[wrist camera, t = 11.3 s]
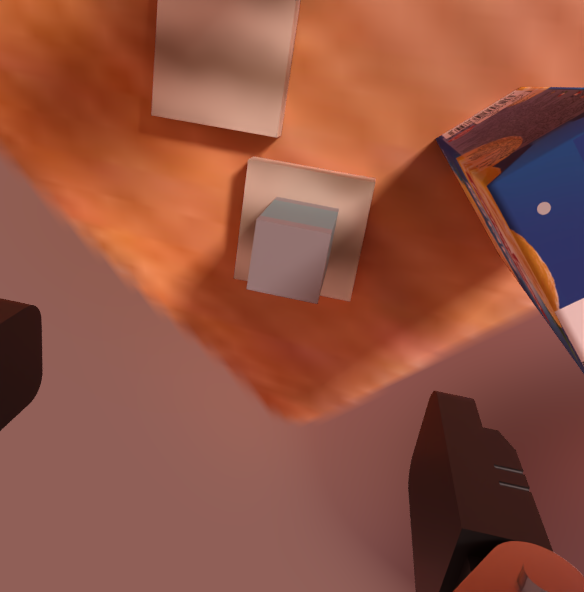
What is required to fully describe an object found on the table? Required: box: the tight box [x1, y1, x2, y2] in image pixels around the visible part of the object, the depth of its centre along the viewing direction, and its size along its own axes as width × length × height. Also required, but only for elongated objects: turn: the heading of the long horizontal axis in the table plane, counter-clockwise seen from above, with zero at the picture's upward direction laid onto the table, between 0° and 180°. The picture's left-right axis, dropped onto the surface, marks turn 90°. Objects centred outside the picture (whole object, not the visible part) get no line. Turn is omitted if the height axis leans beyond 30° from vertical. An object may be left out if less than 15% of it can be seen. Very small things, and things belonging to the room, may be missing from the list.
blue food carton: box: [436, 87, 584, 373], centre depth 32 cm, size 7×11×22 cm, turn 33°
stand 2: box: [234, 156, 375, 302], centre depth 45 cm, size 10×10×2 cm
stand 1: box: [151, 0, 300, 137], centre depth 42 cm, size 10×10×2 cm
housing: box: [247, 197, 339, 304], centre depth 41 cm, size 5×5×8 cm
